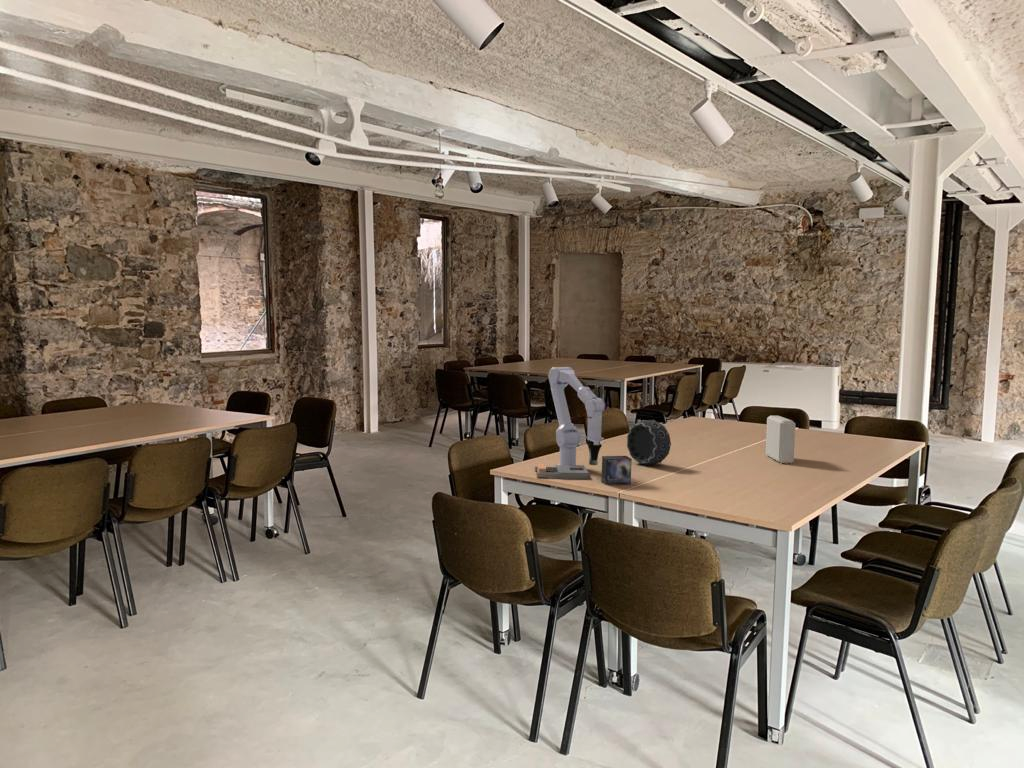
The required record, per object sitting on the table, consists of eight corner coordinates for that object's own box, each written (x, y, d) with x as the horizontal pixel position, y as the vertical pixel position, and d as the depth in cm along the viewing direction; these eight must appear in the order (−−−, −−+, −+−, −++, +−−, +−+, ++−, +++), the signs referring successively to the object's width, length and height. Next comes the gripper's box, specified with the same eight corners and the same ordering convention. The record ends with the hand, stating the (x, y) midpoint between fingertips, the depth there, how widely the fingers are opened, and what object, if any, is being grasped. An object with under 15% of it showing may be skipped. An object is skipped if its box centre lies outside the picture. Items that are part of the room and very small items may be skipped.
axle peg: (588, 463, 317) (589, 447, 316) (597, 463, 317) (597, 447, 317) (589, 465, 313) (590, 448, 313) (598, 465, 314) (598, 448, 313)
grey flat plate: (534, 470, 319) (534, 464, 319) (583, 471, 320) (583, 465, 320) (536, 478, 303) (536, 472, 303) (588, 479, 304) (588, 472, 304)
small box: (605, 485, 293) (606, 458, 292) (600, 481, 299) (601, 455, 299) (631, 484, 295) (632, 458, 294) (625, 481, 301) (626, 455, 301)
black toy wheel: (640, 459, 349) (641, 417, 347) (672, 467, 333) (674, 422, 331) (623, 462, 343) (624, 418, 341) (655, 469, 326) (657, 423, 325)
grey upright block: (796, 464, 344) (798, 421, 342) (779, 464, 344) (781, 420, 342) (781, 456, 365) (783, 415, 363) (764, 456, 365) (766, 415, 363)
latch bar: (537, 472, 316) (537, 463, 316) (544, 472, 316) (544, 463, 316) (538, 476, 306) (538, 468, 306) (546, 477, 306) (546, 468, 306)
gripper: (606, 430, 307) (605, 462, 308) (601, 424, 321) (600, 456, 322) (589, 429, 307) (588, 462, 308) (585, 424, 321) (584, 455, 322)
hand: (593, 459), depth 315 cm, fingers closed on axle peg, 4 cm apart
